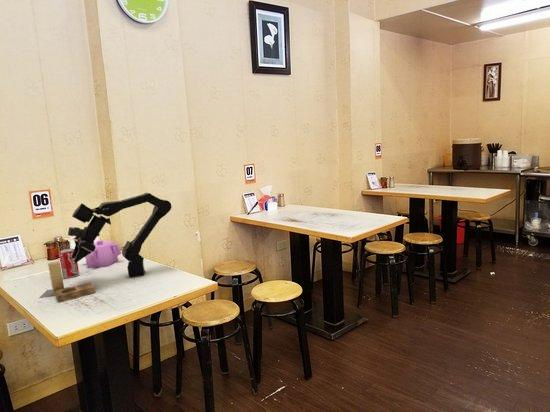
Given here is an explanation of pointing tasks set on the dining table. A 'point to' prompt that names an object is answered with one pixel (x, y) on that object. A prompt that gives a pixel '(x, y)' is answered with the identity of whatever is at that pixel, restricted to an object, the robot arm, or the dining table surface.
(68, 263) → the soda can
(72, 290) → the socket block
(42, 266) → the dining table surface
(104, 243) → the teakettle
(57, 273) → the pin
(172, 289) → the dining table surface
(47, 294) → the mat
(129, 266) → the robot arm
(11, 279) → the dining table surface
